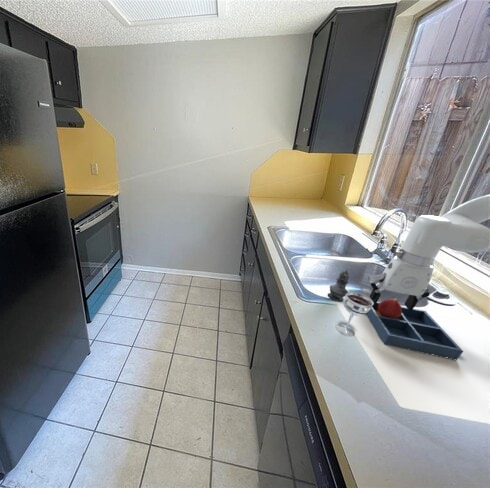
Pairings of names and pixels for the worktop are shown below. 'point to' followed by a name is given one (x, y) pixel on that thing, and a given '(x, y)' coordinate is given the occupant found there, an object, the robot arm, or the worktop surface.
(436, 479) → the worktop surface
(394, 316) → the onion
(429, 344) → the grid
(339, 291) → the dark grey statuette
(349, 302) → the wineglass
